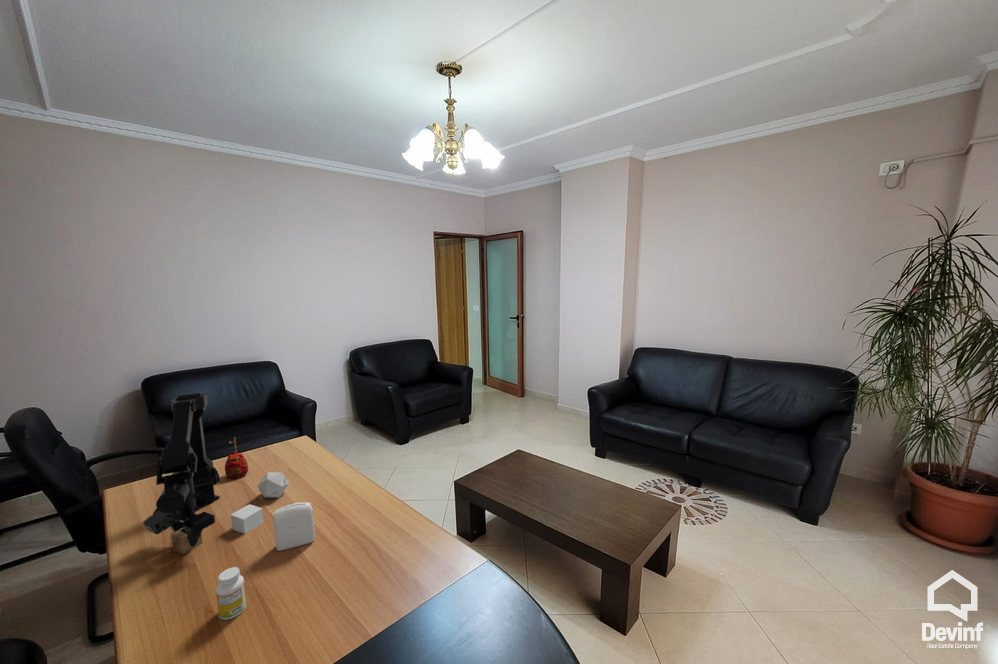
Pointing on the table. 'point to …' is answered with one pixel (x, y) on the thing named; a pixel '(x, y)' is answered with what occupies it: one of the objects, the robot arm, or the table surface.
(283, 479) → the die
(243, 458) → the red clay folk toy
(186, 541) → the brown cube
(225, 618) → the supplement bottle
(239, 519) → the grey block
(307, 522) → the photo printer
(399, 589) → the table surface
